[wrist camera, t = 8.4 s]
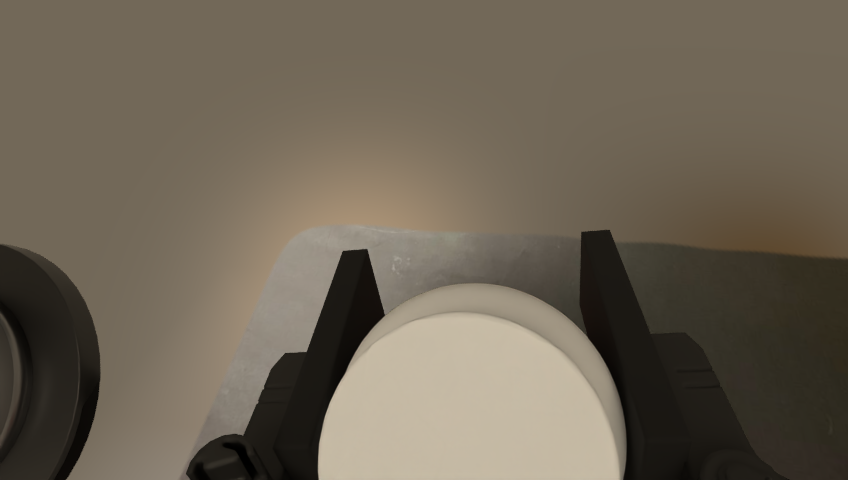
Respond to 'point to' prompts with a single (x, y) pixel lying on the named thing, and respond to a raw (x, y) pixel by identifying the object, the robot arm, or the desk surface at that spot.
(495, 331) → the pill bottle
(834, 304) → the desk surface
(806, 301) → the desk surface
